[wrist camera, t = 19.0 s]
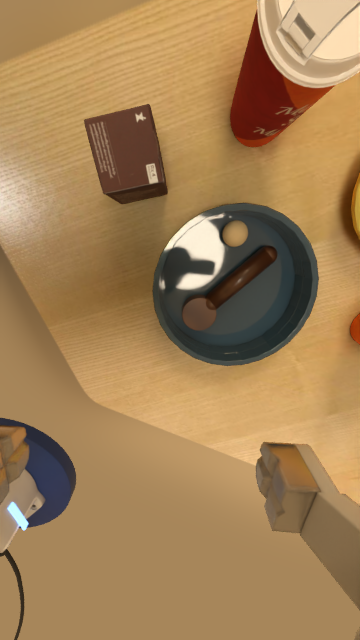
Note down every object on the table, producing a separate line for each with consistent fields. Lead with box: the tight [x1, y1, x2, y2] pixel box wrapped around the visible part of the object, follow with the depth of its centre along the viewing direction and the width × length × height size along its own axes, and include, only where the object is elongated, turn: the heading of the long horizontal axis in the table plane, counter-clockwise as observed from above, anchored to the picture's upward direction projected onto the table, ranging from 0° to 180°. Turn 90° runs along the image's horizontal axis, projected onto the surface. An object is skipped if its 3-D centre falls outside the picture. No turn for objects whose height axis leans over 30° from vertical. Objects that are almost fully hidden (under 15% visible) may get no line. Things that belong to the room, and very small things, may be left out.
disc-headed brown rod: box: [182, 245, 278, 330], centre depth 30 cm, size 15×5×2 cm, turn 132°
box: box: [84, 104, 168, 204], centre depth 24 cm, size 6×6×7 cm
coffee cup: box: [230, 0, 360, 147], centre depth 18 cm, size 8×8×15 cm
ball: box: [223, 220, 248, 247], centre depth 28 cm, size 3×3×3 cm
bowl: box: [153, 203, 319, 366], centre depth 30 cm, size 19×19×5 cm
